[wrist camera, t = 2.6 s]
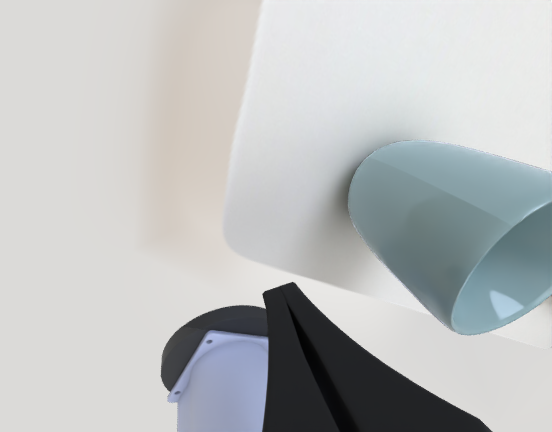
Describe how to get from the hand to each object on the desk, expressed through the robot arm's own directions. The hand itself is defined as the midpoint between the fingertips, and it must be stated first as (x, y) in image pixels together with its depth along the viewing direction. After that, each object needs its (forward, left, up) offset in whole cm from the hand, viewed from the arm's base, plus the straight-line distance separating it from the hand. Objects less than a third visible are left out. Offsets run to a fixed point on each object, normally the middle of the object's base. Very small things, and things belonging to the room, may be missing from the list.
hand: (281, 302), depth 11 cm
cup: (+6, -8, -8) cm, 13 cm away
